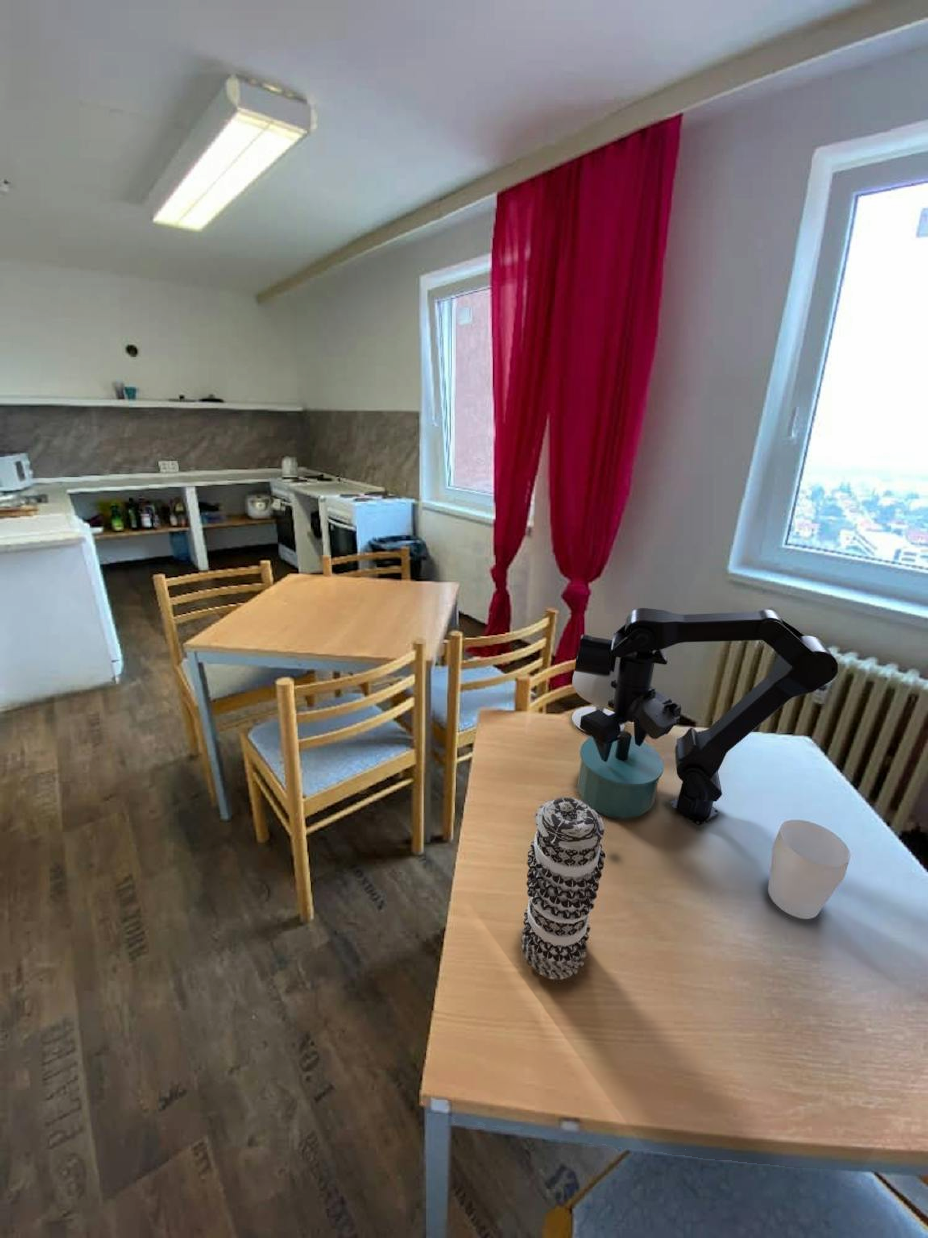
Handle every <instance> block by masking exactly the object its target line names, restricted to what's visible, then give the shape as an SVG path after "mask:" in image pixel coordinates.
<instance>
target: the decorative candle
mask: <svg viewBox="0 0 928 1238" xmlns="http://www.w3.org/2000/svg"><path fill="white" fill-rule="evenodd" d="M534 820H535V826H536V832H535V834H534V839H533V841H532V842H531V843H530V846H529V847H530V848H529V849H530V850H529V851H528V852H527V858H528V859H527V861H526V865H527V867H528V868H529V869H528V870H527V873H526V877H527V880H526V881H525V882H526V883H525V885H526V887H527V891H526V893H527V896H528V901H527V909H526V910H524V912H523V916H524V917H525V918H524V919H523V925H524V926H523V928H522V929H521V930H522V931H521V933H522V934H521V935H522V936H521V943H522V945H521V952H522V954H524V956H525V960H526V962H527V964H528V965H530V966H531V967H532V969H533V970H534V971H535V973H538V974H539V975H541V976H543V977H544V978H547V979H551V980H557V981H559V980H563V979H564V980H565V979H567V980H568V979H570V978H571V976H572V975H573V974H574V975H577V974H578V973H579V969H578V968H579V967H584V965H585V963H584V961H583V960H582V959H585V958H586V956H587V952H586V951H584V950H586V949H588V944H587V941H588V940H589V938H590V936H589V932H590V931H591V926H590V925H589V918H590V913H591V912H592V911H593V909H594V908H595V902H594V901H595V900H596V899H597V897H598V895H597V894H598V893H597V892H598V891H599V887H600V882H599V881H600V880H601V878H602V876H603V872H602V871H603V869H604V867H605V861H604V859H606V853H605V851H604V850H603V845H602V844H601V840H602V839H603V837H604V833H605V826H604V822H603V819H602V817H601V815H599V813H598V812H597V811H595V810H593V809H592V808H591V807H589V806H588V805H587V804H586V803H585V802H584V801H583V800H581V799H577V798H573V797H563V796H562V797H559V798H555V799H552V800H548V801H546V802H544V803H543V804H542V805H540V806H539V807H538V809H537V811H536V813H535V815H534Z"/></svg>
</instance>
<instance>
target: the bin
mask: <svg viewBox="0 0 928 1238" xmlns="http://www.w3.org/2000/svg"><path fill="white" fill-rule="evenodd" d="M659 781H660V778H659V779H658V780H657V781H655V782H653V783H651V784H648V785H643V786H624V785H619V784H615V783H611V782H609V781H606V780H604V779H602V778H600V777H598V776H596V775H595V774H594V773H592V772H591V771H590V770H589V769H588V768H587V767H586V766H585V765H584V763H583V762H582V760H581V759H580V764H579V771H578V778H577V791H578V795H579V796H580V798H581V800H582V802H583V803H585V804H587V805H588V806H589V807H590V808H592V809H593V810H594V811H595V812H596V813H598V814H600V815H602V816H605V817H608V818H610V819H611V818H612V819H617V820H618V819H619V818H623V819H627V818H636V817H641V816H643V815H645V814H646V813H648V812H649V811H651V809H652V808H653V806H654V805H653V804H654V803H655V801H656V795H657V790H658V786H659Z"/></svg>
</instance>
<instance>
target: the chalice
mask: <svg viewBox="0 0 928 1238" xmlns="http://www.w3.org/2000/svg"><path fill="white" fill-rule="evenodd" d="M619 663H620V657H616V662H615V669H614V672H611V671H610V676H607V677H605V676H599V675H593V674H587V673H581V672H575V670H574V671H573V675H572V681H571V683H572V687H573V689H574V691H575V692H576V693H577V695H578V696H579V697H580V698H582V699H583V700H584V701H586V702H588V703H590V704H593V706H583V707H581V708H578V709H577V710H575V711H574V712H573V713H572V716H571V720H572V722H573V725H575V726H576V727H577V728H578V729H580V730H581V731H583V732H585V731H584V730H582V729H581V728H580V721H581V716H583V715H586V714H588V713H591V712H594V711H596V710H601V711H602V712H604V713H605V714H607V715H608V716H609V715H611V714H613V713H614V712H613V710H610V709H608V708H607V707H609V706H608V701H610V700H612V699H614V695H615V688H613V687H611V681H614V680H616V679H617V676H618V669H619ZM625 724H626V723H625ZM625 724H622V725H620V728H621V731H624V729H625V726H626V725H625Z"/></svg>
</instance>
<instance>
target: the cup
mask: <svg viewBox="0 0 928 1238" xmlns="http://www.w3.org/2000/svg"><path fill="white" fill-rule="evenodd" d="M850 860H851V852H850V850H849V848H848V846H847V844H846V843H845V842H844V841H843V840H842V838H840V837H839V836H838V835H837V834H835V833H834V832H832V831H831V830H830V829H828V828H826V827H824V826H822V825H820V824H818V823H814V822H811V821H808V820H803V819H790V820H786V821H784V822H783V823H782V824H781V825H780V828H779V829H778V832H777V834H776V836H775V838H774V841H773V845H772V853H771V860H770V868H769V878H768V886H767V892H768V895H769V897H770V899H771V901H772V902H773V903H774V904H775V905H776V906H777V907H778V908H779V909H780V910H782V911H783V912H785V913H787V914H788V915H790V916H791V917H795V918H798V919H802V920H810V919H814V918H815V917H817V916H818V915H819V913H820V912H821V911H822V909H823V908H824V907H825V905H826V904H827V903H828V901H829V900H830V898H831V897H832V895H833V894H834V893H835V891H836V890H837V889H838V887H839V886H840V884H841V883H842V882H843V880H844V879H845V877H846V874H847V869H848V866H849V863H850Z"/></svg>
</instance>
